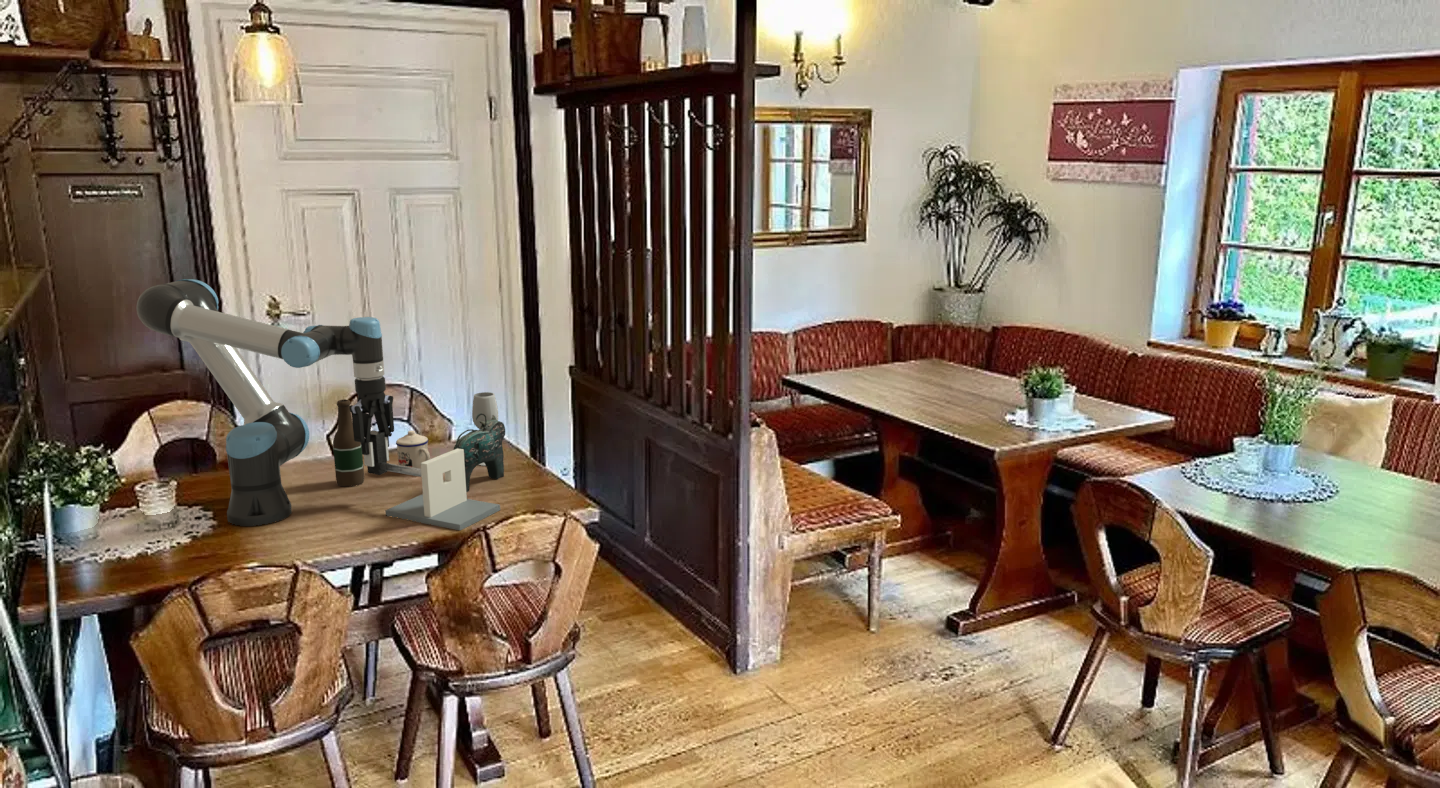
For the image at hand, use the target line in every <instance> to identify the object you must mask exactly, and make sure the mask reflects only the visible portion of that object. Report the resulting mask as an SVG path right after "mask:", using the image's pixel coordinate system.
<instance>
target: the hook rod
mask: <svg viewBox="0 0 1440 788" xmlns="http://www.w3.org/2000/svg"><path fill="white" fill-rule="evenodd" d="M370 442H372V443H373V455H374V466H373V467H371V466H366V468H367V473H368V474H370V475H371V474H372V475H377V476H380V475H383V474H386V473H389V472H391V473H398V474H402V475H403V474H404V475H408V476H409V475H410V476H414V477H421V478H422V476H421V469H419V468H413V467H407V466H401V465H398V464H395V463H389V462H388V461H387V459H386V447H385V435H384V432H380V431H379V430H372V429H371V433H370Z"/></svg>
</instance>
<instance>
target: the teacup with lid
mask: <svg viewBox="0 0 1440 788" xmlns="http://www.w3.org/2000/svg"><path fill="white" fill-rule="evenodd" d="M428 443H429V439H428V437H427V436H424V435H421V434H418V433H416V431H415V430H408V431H407V434H405V435H404V436H401V437H399V438H397V440H396V442H395V444H396V449H397V451H396V452H397V462H398V464H397V465H401V466H407V467H413V468H419V469H421V463H422V462H425V461H427V460H430V459H431V455H430V454H431V453H430V452H429V444H428Z"/></svg>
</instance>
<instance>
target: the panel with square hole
mask: <svg viewBox="0 0 1440 788" xmlns="http://www.w3.org/2000/svg"><path fill="white" fill-rule="evenodd" d="M421 476H422V477H421V487H422V494H419V495H417V496H415V497H412V498H411V499H409V500H405V501H403V502H401V503H399V504H397V505H394V506H392V507H390V508H387V509H385V516H386V515H387V516H386V517H389V516H392V517H391V518H394V517H398V518H397V519H399V518H402V519H401V520H404V519H408V520H407V521H409V520H412V522H415V521H416V523H420V522H421V523H420V524H426V525H430V524H431V525H430V526H436V527H441V528H447V529H451V530H456V531H462V530H464V529H466V528H468V527H470V526H471V525H474V524H476V523H478V522H480V521H482V520H484V519H486V518H488V517H489V516H491V515H493V514H496V513H497V512H499V511H501V504H498V503H494V502H489V501H480V500H476V499H470V498H468V496H467V492H466V479H465V463H464V449H458V448H457V449H455V450H450V451H448V452H445V453H442V454H440V455H438V456H434V457H433V458H430V460H427V461H425V462H422V463H421Z"/></svg>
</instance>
